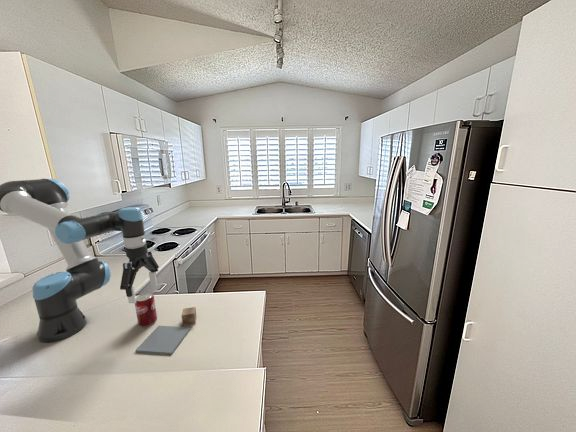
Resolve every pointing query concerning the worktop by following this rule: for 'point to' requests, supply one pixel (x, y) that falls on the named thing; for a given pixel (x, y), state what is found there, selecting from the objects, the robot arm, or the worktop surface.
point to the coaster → (163, 340)
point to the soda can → (145, 309)
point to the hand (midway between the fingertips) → (144, 294)
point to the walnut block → (189, 316)
